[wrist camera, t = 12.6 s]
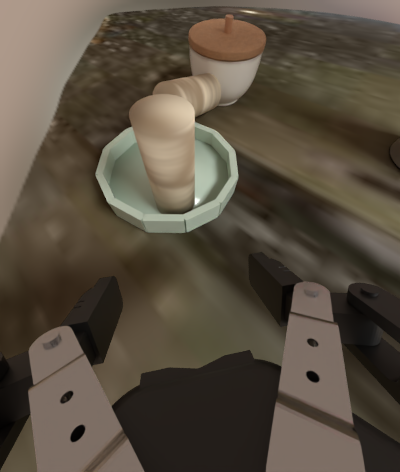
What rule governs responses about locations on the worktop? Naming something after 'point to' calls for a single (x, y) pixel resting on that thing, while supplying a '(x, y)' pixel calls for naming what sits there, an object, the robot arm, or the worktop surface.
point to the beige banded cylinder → (194, 91)
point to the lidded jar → (227, 54)
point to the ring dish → (140, 193)
